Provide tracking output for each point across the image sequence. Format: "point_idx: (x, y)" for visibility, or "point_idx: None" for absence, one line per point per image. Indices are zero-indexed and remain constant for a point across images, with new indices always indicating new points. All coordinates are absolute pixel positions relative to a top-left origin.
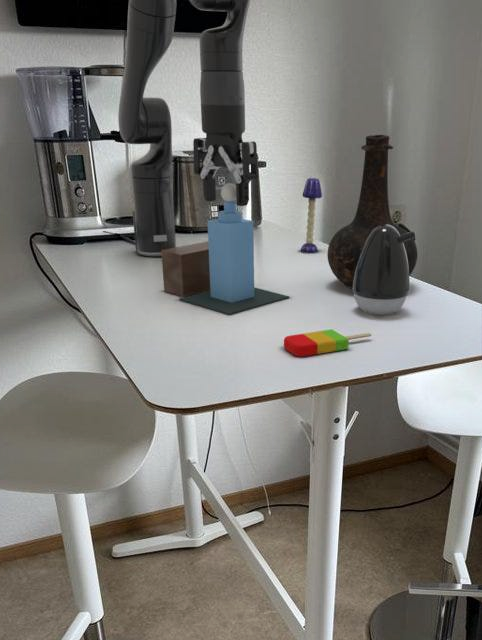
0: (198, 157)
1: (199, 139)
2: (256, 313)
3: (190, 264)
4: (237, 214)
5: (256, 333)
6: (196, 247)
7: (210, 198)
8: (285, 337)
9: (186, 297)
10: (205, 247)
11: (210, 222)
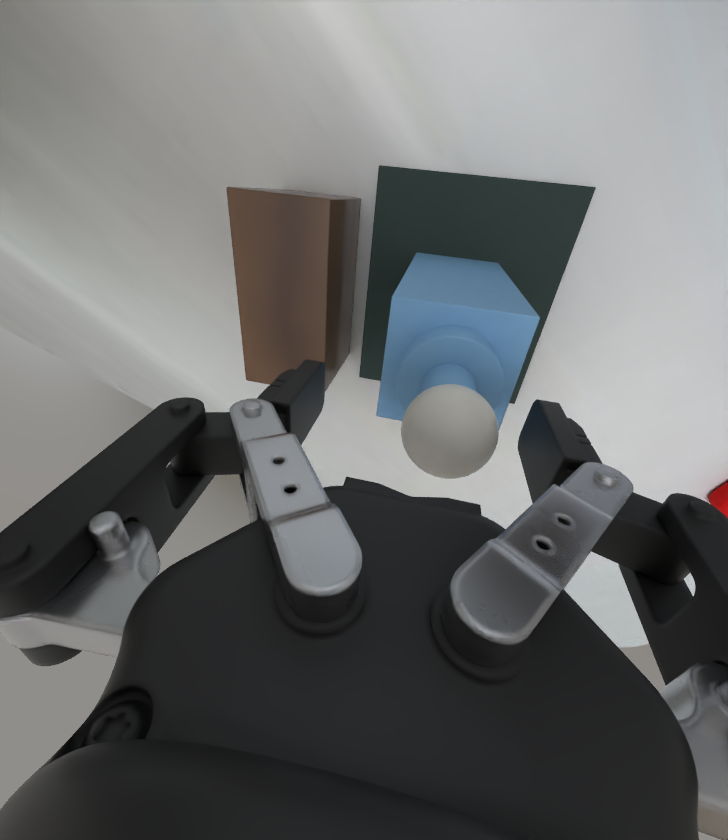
0: (166, 533)
1: (54, 647)
2: (564, 362)
3: (333, 354)
4: (498, 400)
5: (621, 459)
6: (281, 296)
7: (320, 393)
8: (722, 512)
9: (365, 363)
10: (300, 279)
11: (392, 417)
